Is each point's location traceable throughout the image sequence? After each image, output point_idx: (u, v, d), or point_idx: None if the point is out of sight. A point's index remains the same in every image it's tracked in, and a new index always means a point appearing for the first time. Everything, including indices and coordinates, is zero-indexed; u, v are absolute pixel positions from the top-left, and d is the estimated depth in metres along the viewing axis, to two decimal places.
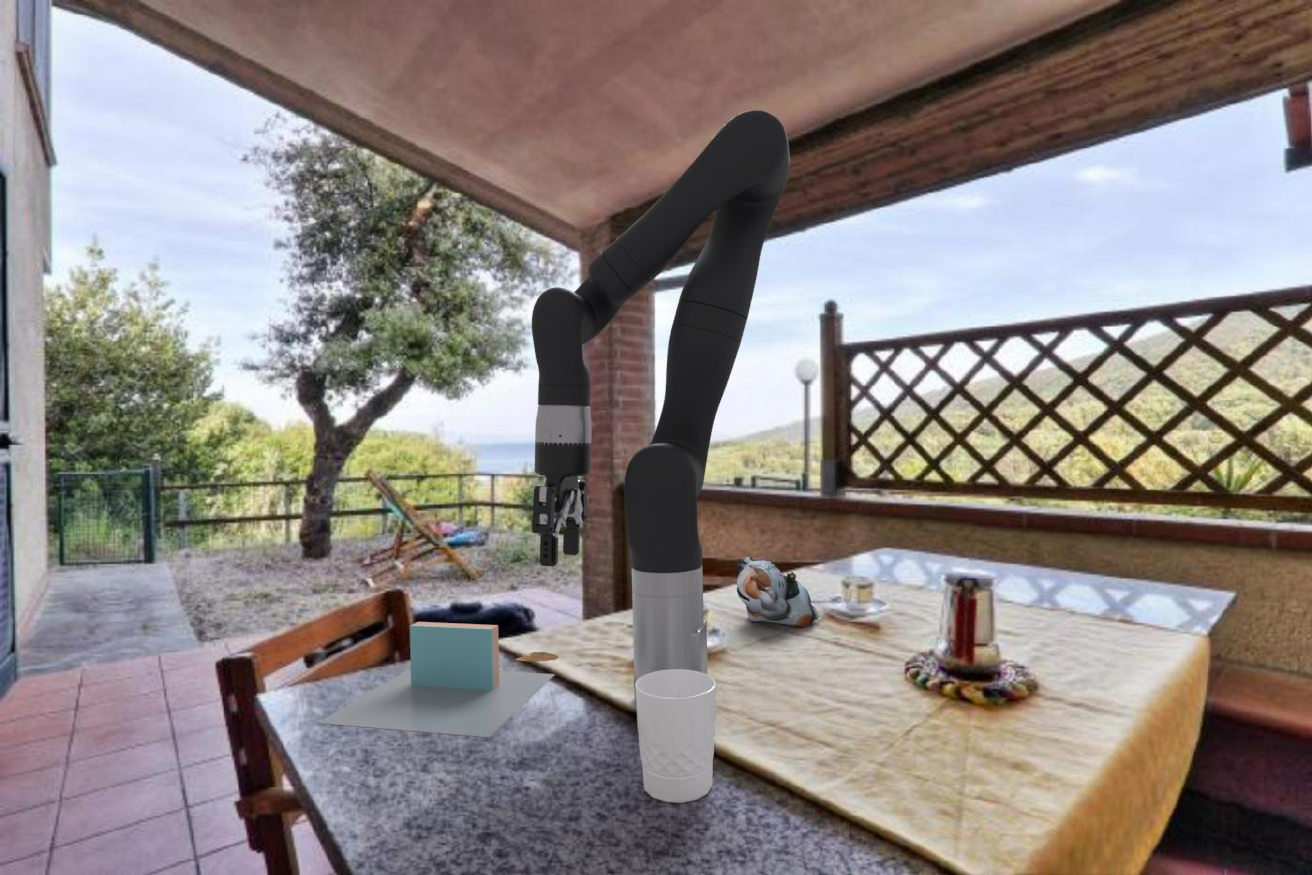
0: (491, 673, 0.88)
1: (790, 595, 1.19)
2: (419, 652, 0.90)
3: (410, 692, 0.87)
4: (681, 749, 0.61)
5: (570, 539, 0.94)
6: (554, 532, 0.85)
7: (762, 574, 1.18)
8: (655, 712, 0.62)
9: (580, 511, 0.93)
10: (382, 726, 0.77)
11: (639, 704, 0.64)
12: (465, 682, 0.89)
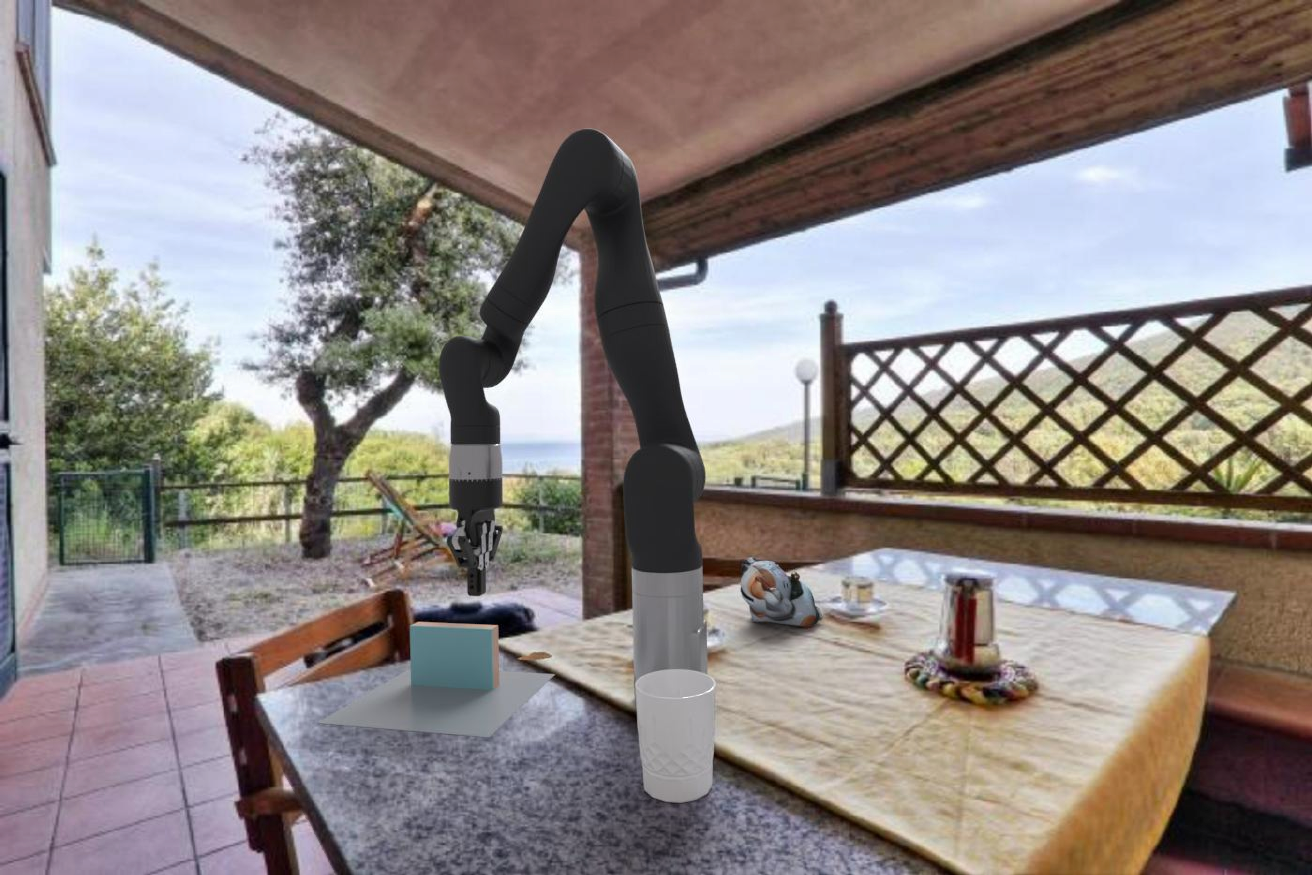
0: (491, 673, 0.88)
1: (794, 595, 1.19)
2: (419, 652, 0.90)
3: (410, 692, 0.87)
4: (681, 749, 0.61)
5: None
6: (479, 568, 0.95)
7: (767, 574, 1.17)
8: (655, 712, 0.62)
9: (489, 545, 0.97)
10: (382, 726, 0.77)
11: (639, 704, 0.64)
12: (465, 682, 0.89)
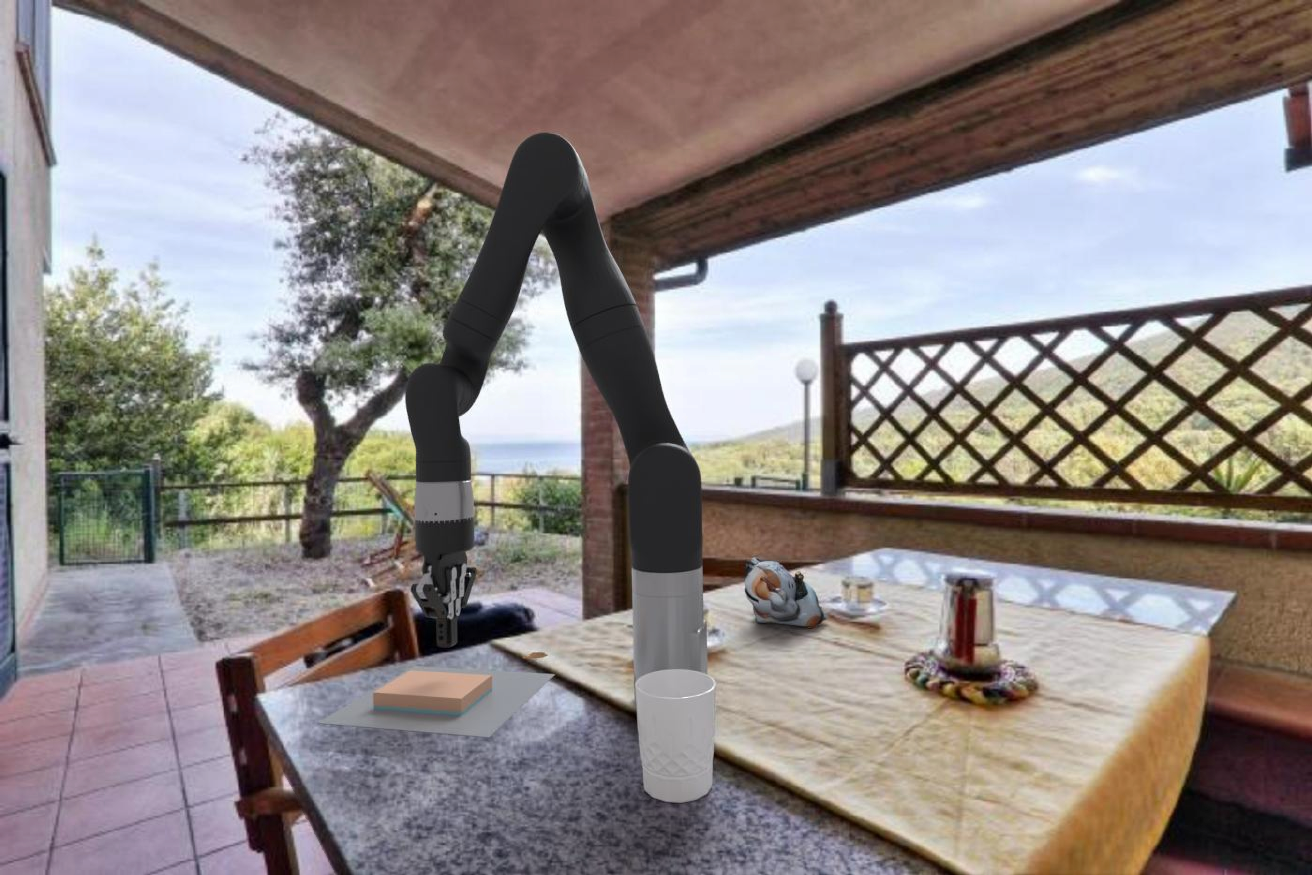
0: (483, 696, 0.86)
1: (799, 595, 1.18)
2: None
3: None
4: (681, 749, 0.61)
5: None
6: (448, 617, 0.87)
7: (772, 575, 1.17)
8: (655, 712, 0.62)
9: (460, 591, 0.89)
10: (382, 726, 0.77)
11: (639, 704, 0.64)
12: None
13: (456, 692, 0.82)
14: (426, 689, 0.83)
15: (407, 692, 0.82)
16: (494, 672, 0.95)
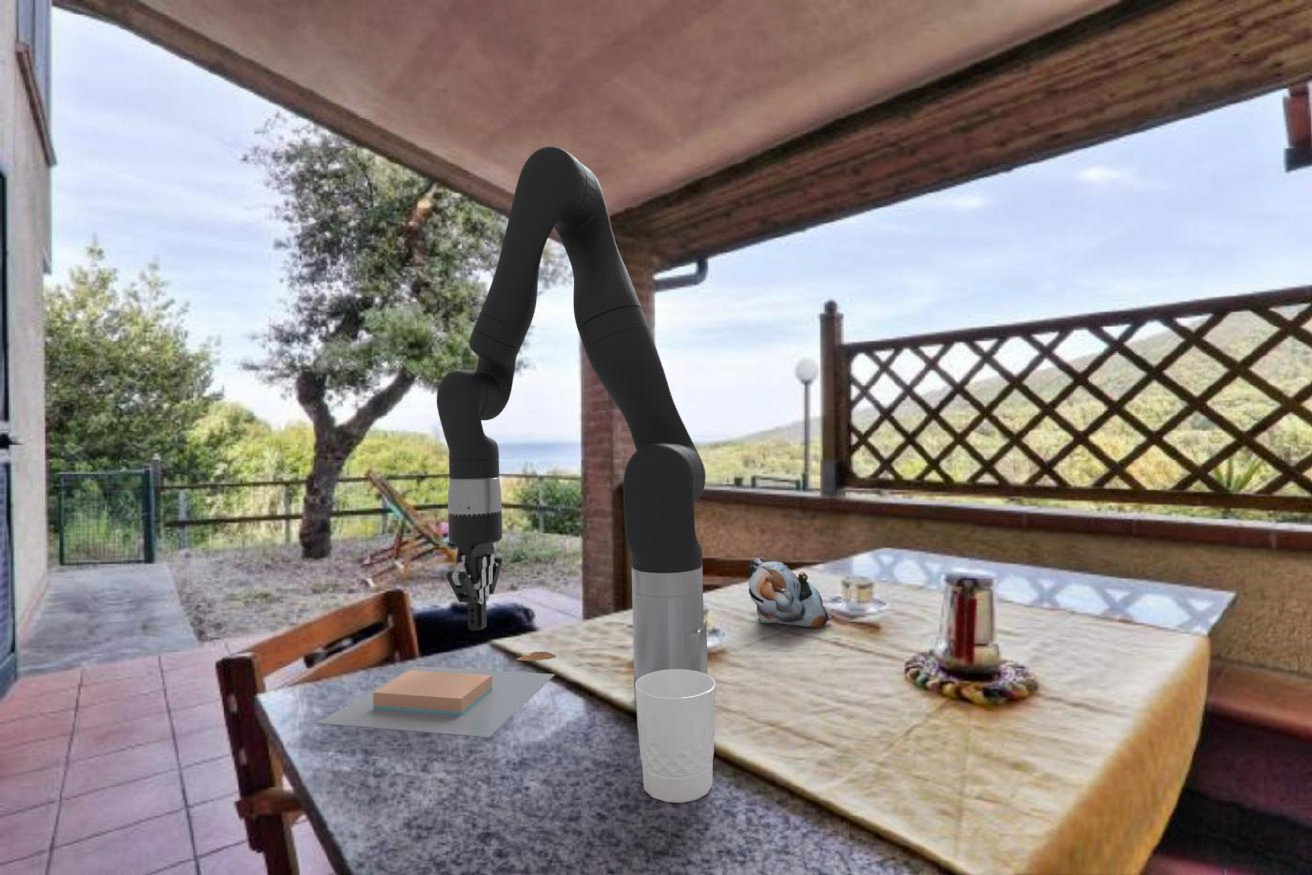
0: (483, 696, 0.86)
1: (803, 596, 1.18)
2: None
3: None
4: (681, 749, 0.61)
5: None
6: (479, 603, 0.95)
7: (777, 575, 1.16)
8: (655, 712, 0.62)
9: (489, 579, 0.97)
10: (382, 726, 0.77)
11: (639, 704, 0.64)
12: None
13: (456, 692, 0.82)
14: (426, 689, 0.83)
15: (407, 692, 0.82)
16: (494, 672, 0.95)
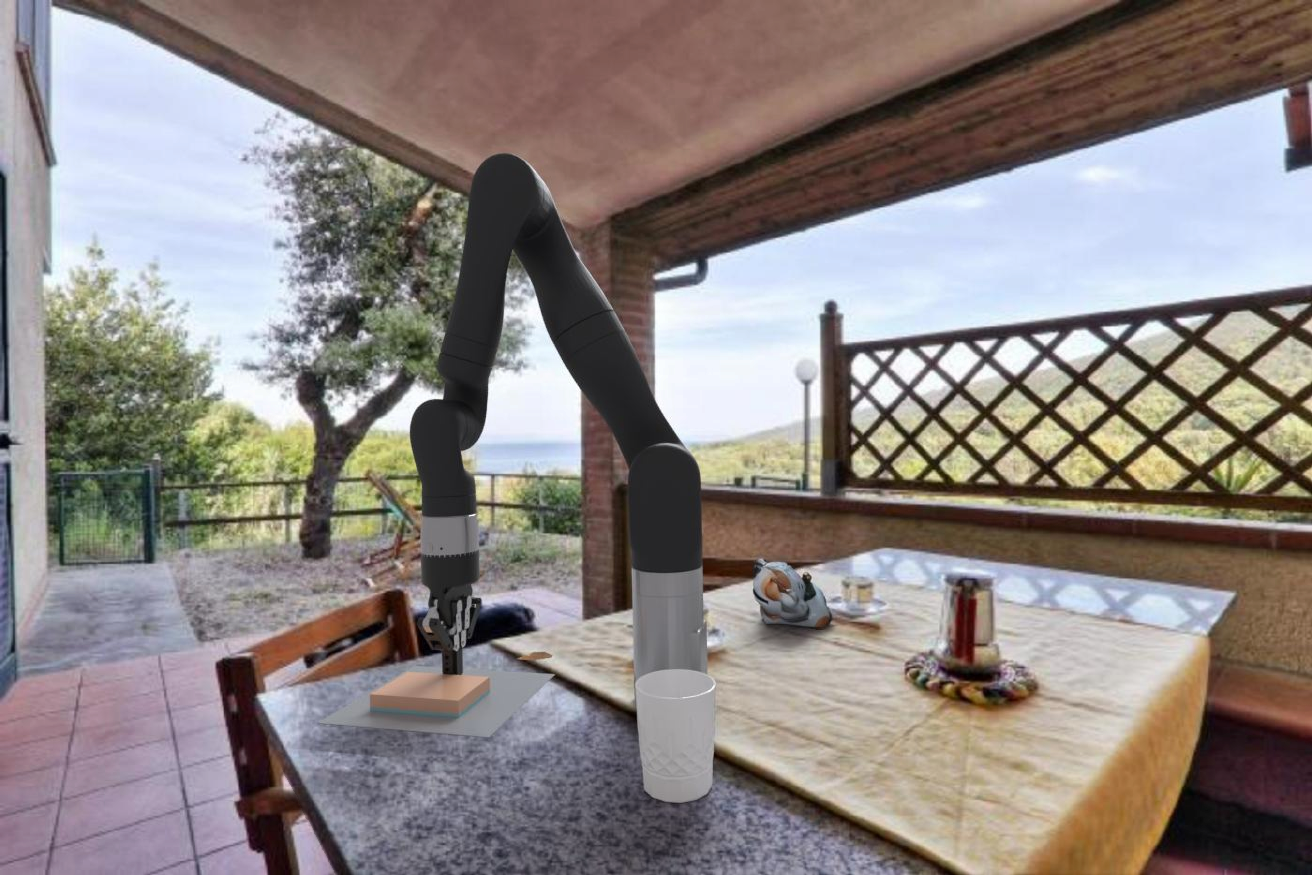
0: None
1: (807, 596, 1.18)
2: None
3: None
4: (681, 749, 0.61)
5: None
6: (454, 649, 0.88)
7: (781, 576, 1.16)
8: (655, 712, 0.62)
9: (465, 623, 0.90)
10: (382, 726, 0.77)
11: (639, 704, 0.64)
12: None
13: (453, 694, 0.81)
14: (424, 691, 0.83)
15: (404, 694, 0.82)
16: (494, 672, 0.95)
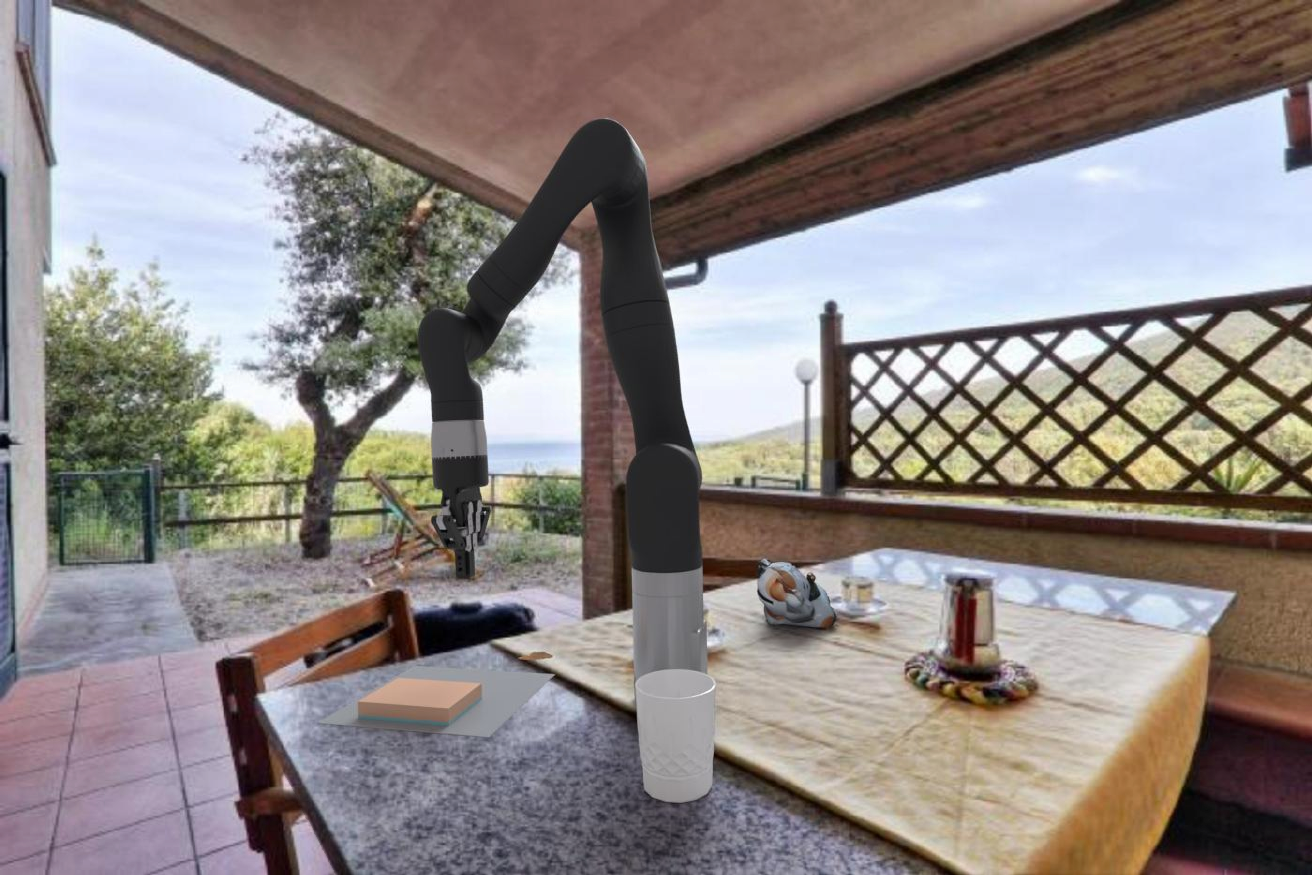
0: (472, 705, 0.83)
1: (812, 596, 1.18)
2: None
3: None
4: (681, 749, 0.61)
5: None
6: (466, 550, 0.92)
7: (786, 576, 1.15)
8: (655, 712, 0.62)
9: (477, 526, 0.94)
10: (382, 726, 0.77)
11: (639, 704, 0.64)
12: None
13: (443, 701, 0.79)
14: (413, 698, 0.80)
15: (393, 701, 0.80)
16: (494, 672, 0.95)
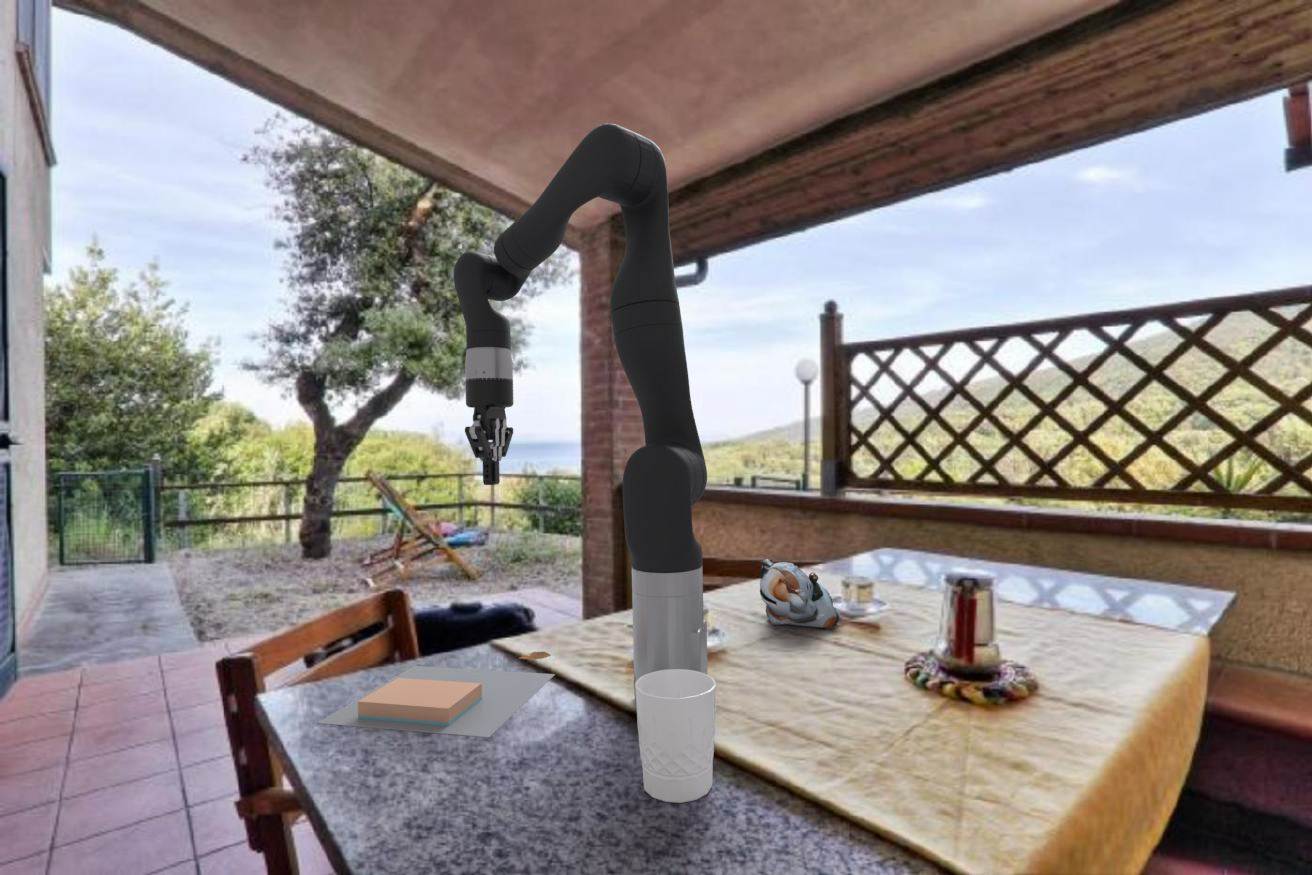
0: (472, 705, 0.83)
1: (815, 597, 1.17)
2: None
3: None
4: (681, 749, 0.61)
5: None
6: (493, 459, 1.07)
7: (790, 576, 1.15)
8: (655, 712, 0.62)
9: (502, 441, 1.09)
10: (382, 726, 0.77)
11: (639, 704, 0.64)
12: None
13: (443, 701, 0.79)
14: (413, 698, 0.80)
15: (393, 701, 0.80)
16: (494, 672, 0.95)
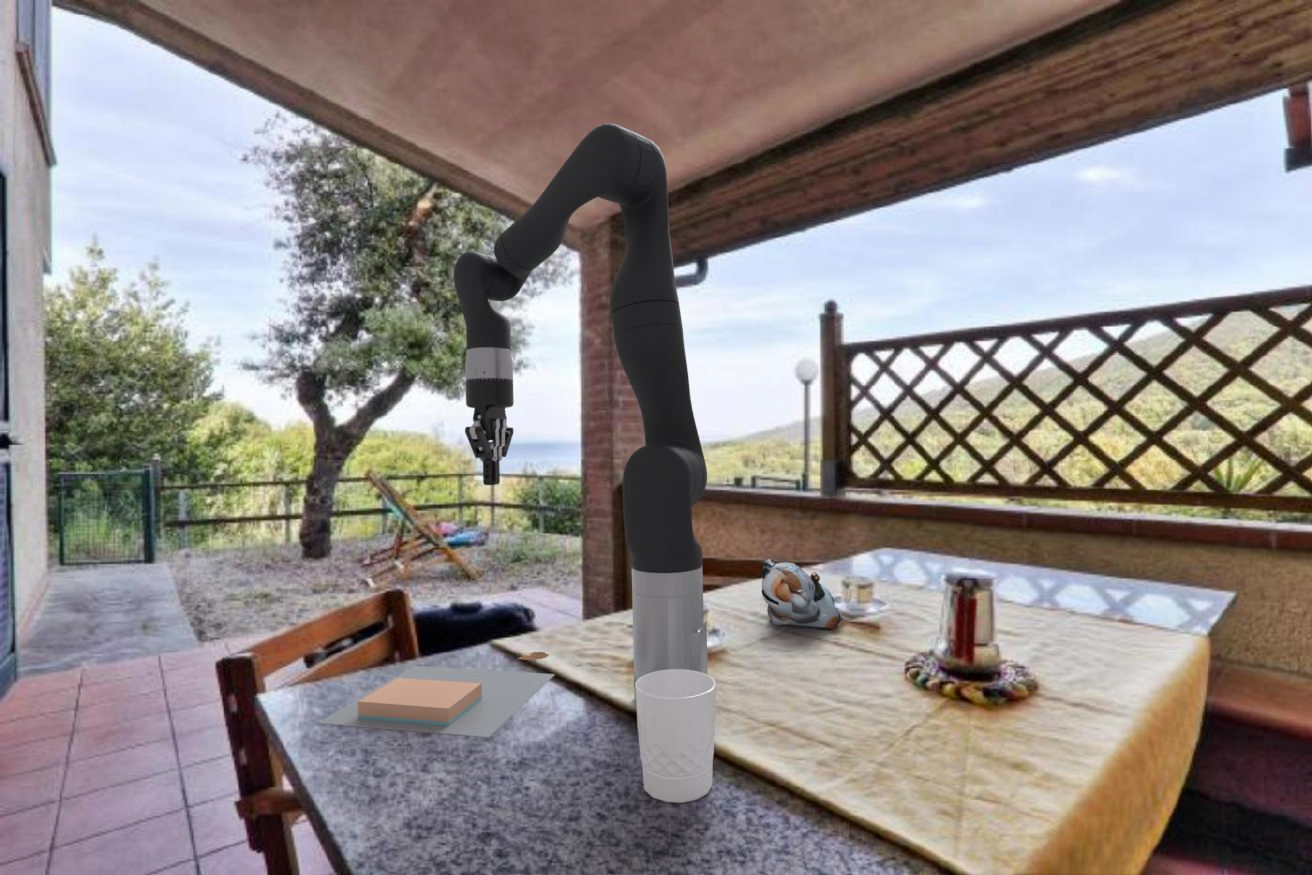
0: (472, 705, 0.83)
1: (817, 597, 1.17)
2: None
3: None
4: (681, 749, 0.61)
5: None
6: (493, 459, 1.07)
7: (792, 576, 1.15)
8: (655, 712, 0.62)
9: (502, 441, 1.09)
10: (382, 726, 0.77)
11: (639, 704, 0.64)
12: None
13: (443, 701, 0.79)
14: (413, 698, 0.80)
15: (393, 701, 0.80)
16: (494, 672, 0.95)
